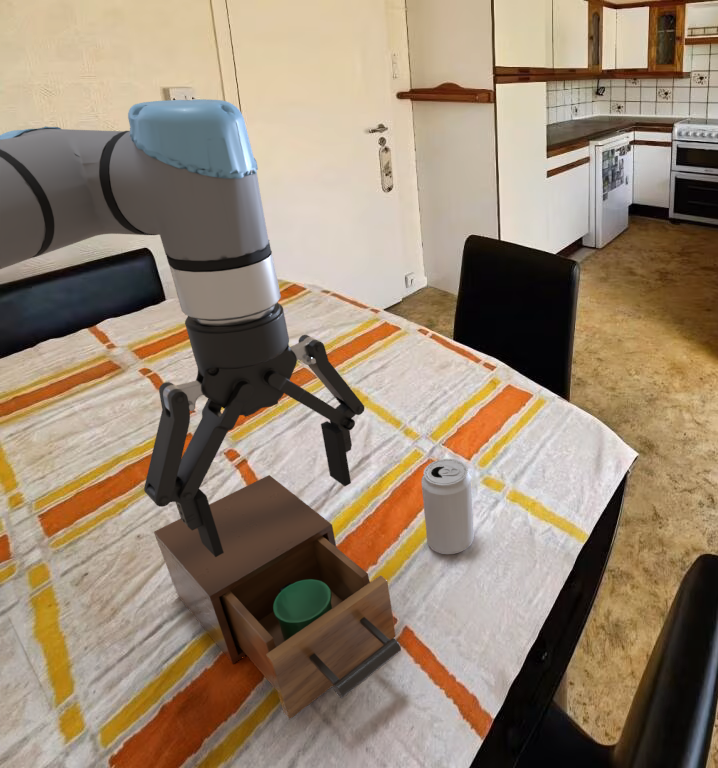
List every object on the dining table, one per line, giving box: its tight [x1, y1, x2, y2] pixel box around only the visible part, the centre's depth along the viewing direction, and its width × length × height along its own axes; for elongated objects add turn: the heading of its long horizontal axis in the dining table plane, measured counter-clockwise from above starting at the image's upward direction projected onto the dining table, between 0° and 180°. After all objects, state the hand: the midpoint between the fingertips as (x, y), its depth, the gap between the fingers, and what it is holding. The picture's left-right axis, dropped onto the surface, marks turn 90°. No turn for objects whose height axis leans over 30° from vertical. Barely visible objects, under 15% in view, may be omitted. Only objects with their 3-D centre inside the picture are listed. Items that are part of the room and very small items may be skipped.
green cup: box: [273, 579, 332, 642], centre depth 68 cm, size 8×6×6 cm
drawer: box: [219, 536, 402, 720], centre depth 67 cm, size 19×13×9 cm
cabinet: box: [153, 474, 338, 665], centre depth 75 cm, size 15×15×11 cm
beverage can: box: [420, 458, 475, 555], centre depth 83 cm, size 6×6×12 cm
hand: (281, 511), depth 61 cm, fingers open, 13 cm apart
